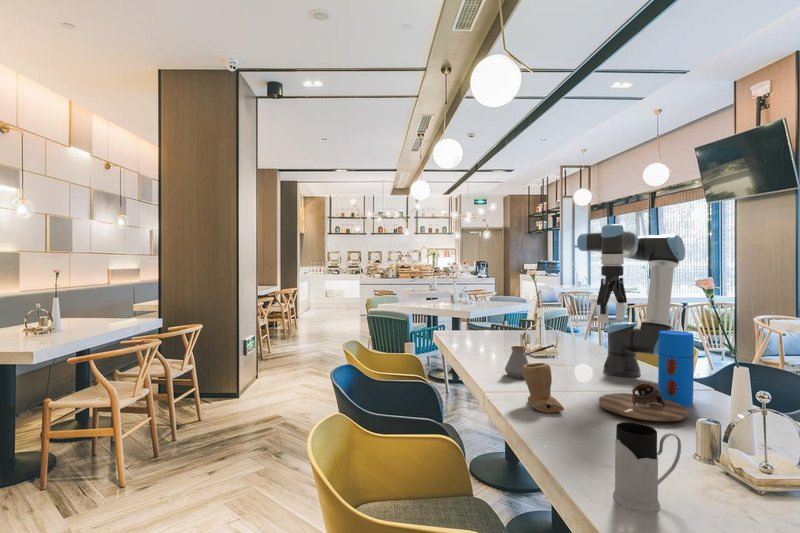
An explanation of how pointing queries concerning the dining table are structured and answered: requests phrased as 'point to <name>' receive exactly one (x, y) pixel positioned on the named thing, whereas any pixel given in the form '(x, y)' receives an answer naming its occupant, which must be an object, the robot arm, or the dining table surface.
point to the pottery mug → (646, 394)
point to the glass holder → (639, 466)
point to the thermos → (676, 366)
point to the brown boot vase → (540, 387)
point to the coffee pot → (519, 361)
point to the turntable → (642, 408)
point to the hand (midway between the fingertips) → (612, 321)
